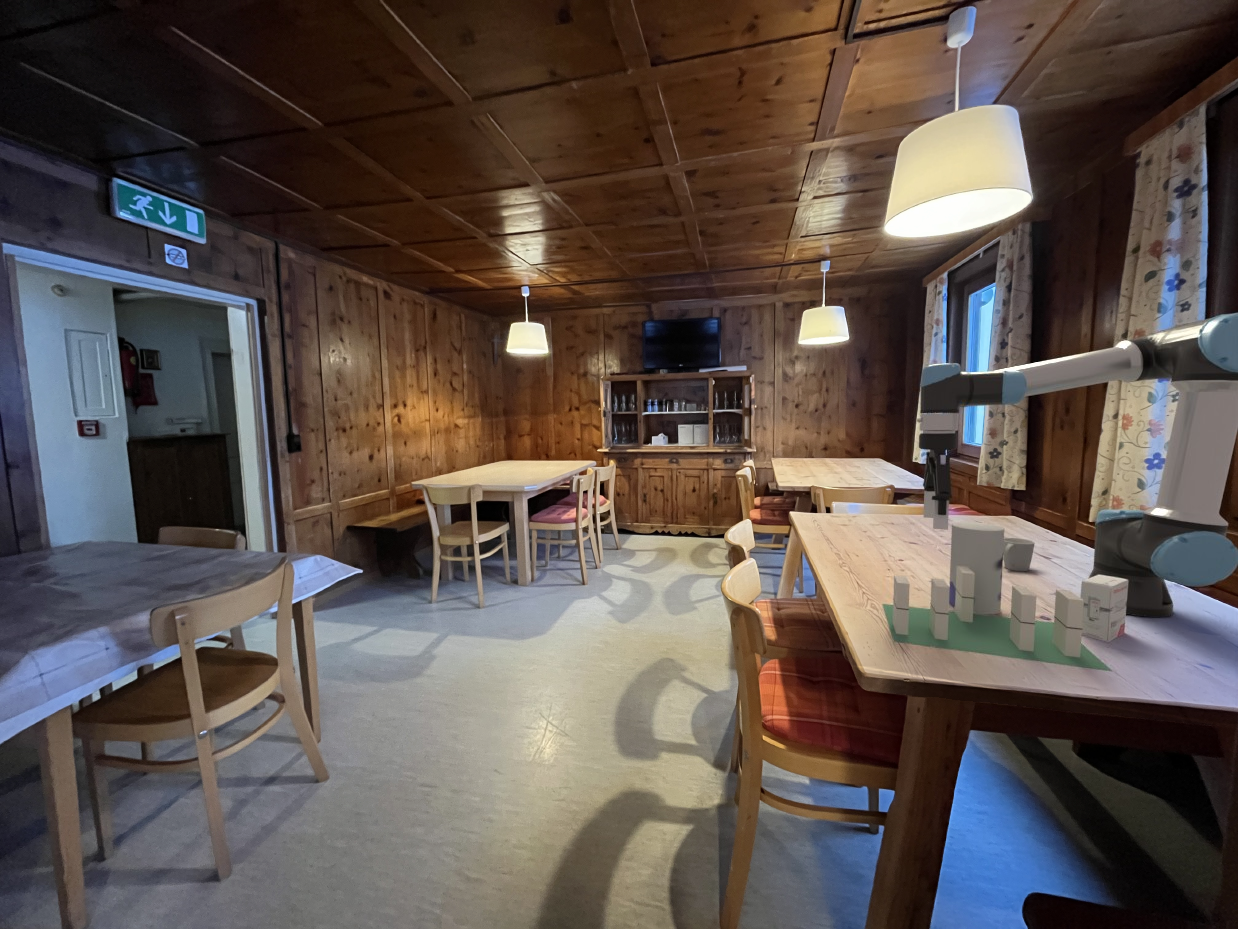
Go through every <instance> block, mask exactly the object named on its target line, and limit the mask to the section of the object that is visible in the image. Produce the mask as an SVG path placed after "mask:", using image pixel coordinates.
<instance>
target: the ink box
mask: <svg viewBox="0 0 1238 929" xmlns="http://www.w3.org/2000/svg"><path fill="white" fill-rule="evenodd" d="M1088 578H1089V577H1088ZM1088 578H1087V579H1083V580H1082V581H1081V587H1080V598H1081V599H1083V600H1084V606H1083V622H1082V636H1085V637H1089V638H1092V639H1096V640H1100V641H1103V642H1107V643H1109V642H1111V641H1112V640H1114V639H1116V638H1118V637H1120V636H1121V635H1123V634H1125V628H1126V617H1127V616H1126V615H1127V614H1126V605H1127V592H1128V580H1127V579H1123V578H1117V577H1111V576H1105V575H1097V576H1094V577H1091V578H1089V579H1088Z"/></svg>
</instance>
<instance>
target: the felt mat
mask: <svg viewBox="0 0 1238 929" xmlns="http://www.w3.org/2000/svg"><path fill="white" fill-rule="evenodd" d="M882 607H883V611H884V615H885V617H886V618H885V619H886V621H887V624H888V627H889V632H890V634H891V637H892V641H893V642H894V643H902V644H910V645H916V646H917V645H918V646H921V647H922V646H924V647H929V648H939V649H944V650H945V649H946V650H950V651H951V650H953V651H961V652H966V653H973V654H974V653H975V654H982V655H990V656H996V657H997V656H998V657H1002V658H1003V657H1004V658H1010V659H1019V660H1027V661H1034V662H1040V663H1049V664H1055V665H1063V666H1071V667H1078V668H1086V669H1091V670H1093V669H1094V670H1097V671H1098V670H1100V671H1106V672H1107V671H1108V672H1113V670H1112V669H1111V668H1110V667H1109V666H1108V665H1106V664H1105V663H1104V662H1103V661H1102V660H1101V659H1100V658H1098V657H1097V655H1096V654H1094V653H1093V652H1092V651H1091V650H1090V649H1089V648H1087V647H1086V646H1085V645H1084V644H1083V643H1082V642H1081V653H1080V658H1079V657H1072V656H1065V655H1064V654H1063V653H1062V652H1061V651H1060V650H1059V649H1058V648H1057V647H1056V646H1055V645H1054V644H1053V633H1054V622H1051V621H1042V620H1035V633H1034V651H1026V650H1019V649H1018V647H1017V646H1016V645H1015V644H1014V643H1013V641H1012V640H1011V639H1010V620H1011V617H1005V616H997V615H990V614H978V613H973V622H964V621H960V619H959V618H958V616H957V615H956V613H955V611H951V610H949V616H948V640H941V639H935V638H934V636H933V634H932V632H931V630H930V608H926V607H925V608H924V607H915V606H909V619H908V635H903V634H896V632H895V629H894V626H893V604H887V603H882Z"/></svg>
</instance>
